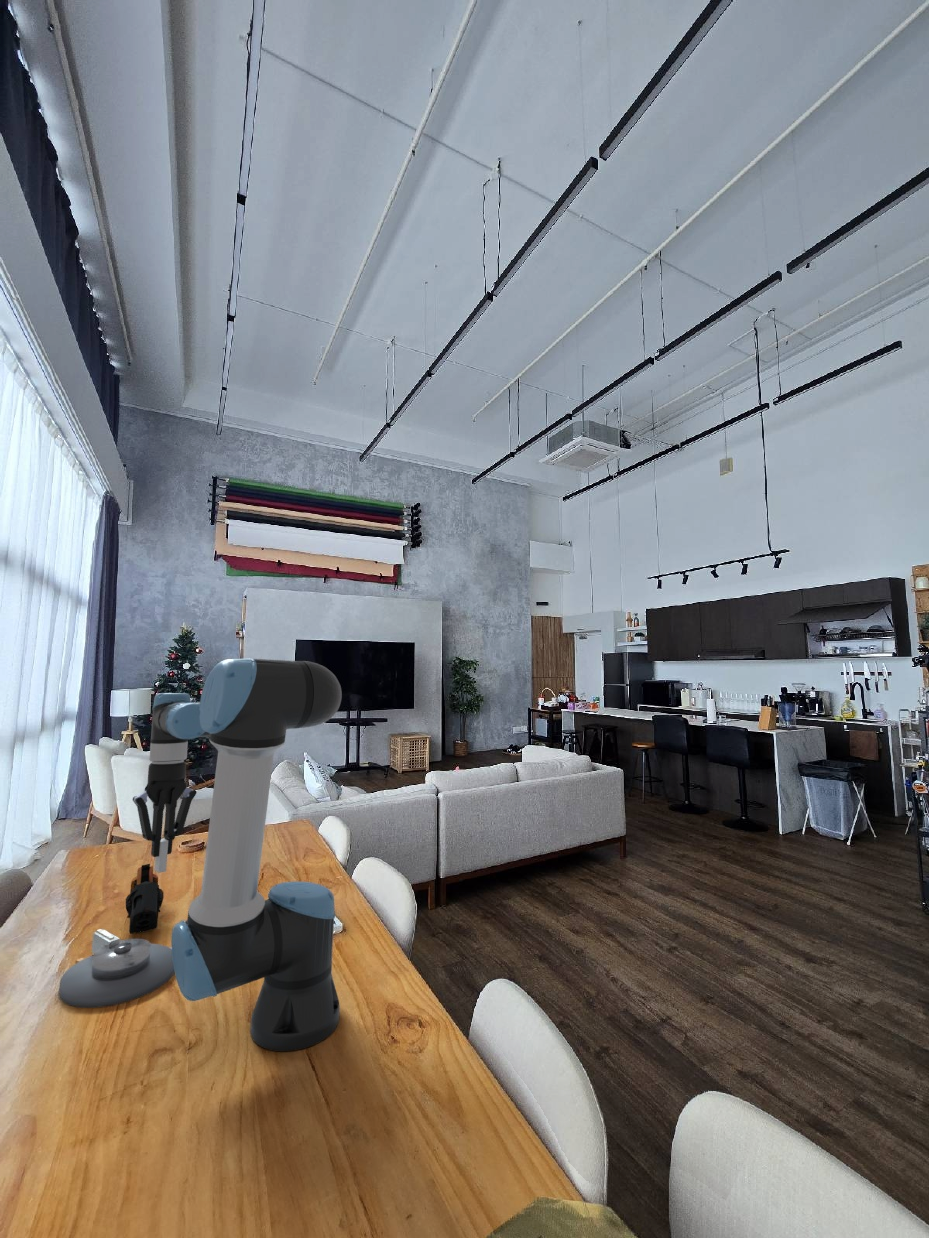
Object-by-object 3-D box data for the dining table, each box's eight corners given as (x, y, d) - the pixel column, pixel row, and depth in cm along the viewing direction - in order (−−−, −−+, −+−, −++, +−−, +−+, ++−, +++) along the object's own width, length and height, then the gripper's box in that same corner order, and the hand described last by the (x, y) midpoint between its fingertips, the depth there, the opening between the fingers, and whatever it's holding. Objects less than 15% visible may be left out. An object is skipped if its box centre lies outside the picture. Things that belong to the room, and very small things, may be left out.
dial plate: (202, 973, 112) (202, 963, 113) (73, 1021, 96) (74, 1009, 96) (162, 937, 127) (162, 928, 128) (45, 973, 111) (46, 963, 111)
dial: (159, 962, 112) (161, 940, 112) (106, 985, 104) (108, 961, 104) (121, 941, 120) (123, 921, 121) (69, 960, 112) (71, 938, 112)
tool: (120, 968, 127) (124, 915, 123) (126, 897, 146) (129, 849, 142) (160, 959, 131) (164, 907, 127) (160, 891, 150) (164, 844, 146)
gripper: (190, 757, 131) (184, 860, 128) (130, 762, 121) (121, 874, 118) (204, 760, 126) (197, 867, 123) (142, 765, 116) (133, 882, 113)
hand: (160, 870), depth 121 cm, fingers closed
